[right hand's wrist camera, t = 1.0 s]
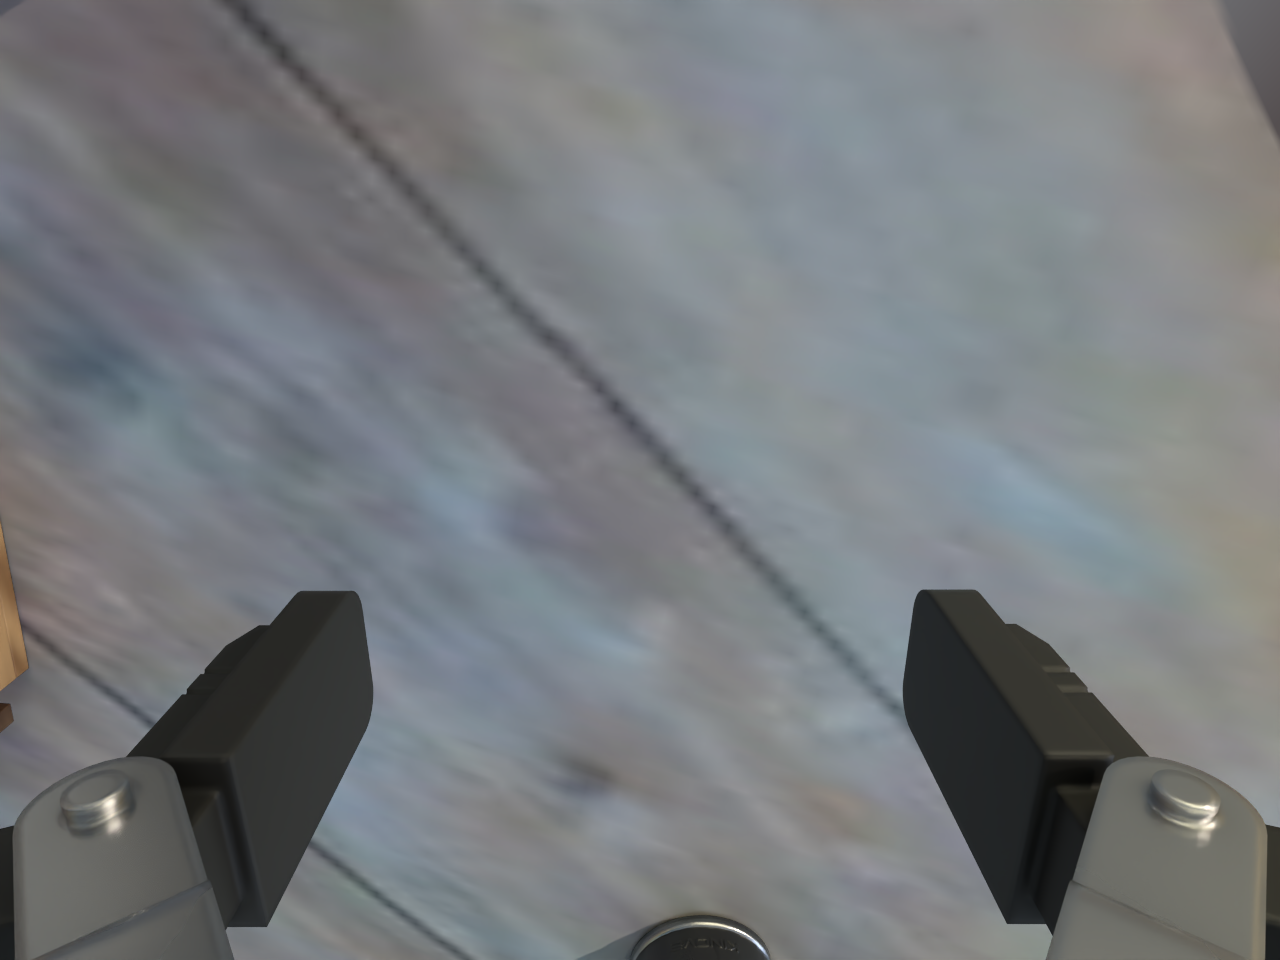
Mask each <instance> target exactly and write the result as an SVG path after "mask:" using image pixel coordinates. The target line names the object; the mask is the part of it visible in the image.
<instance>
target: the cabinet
mask: <svg viewBox="0 0 1280 960" xmlns="http://www.w3.org/2000/svg"><path fill="white" fill-rule="evenodd" d="M28 668H29V666H28V661H27V656H26V651H25V646H24V641H23V635H22V630H21V625H20V620H19V615H18V610H17V605H16V599H15V594H14V589H13V584H12V579H11V574H10V569H9V563H8V558H7V553H6V548H5V543H4V538H3V532H2V527H1V522H0V691H1V690H2V689H3V688H5V687H6V686H7V685H8V684H10V683H11V682H12V681H13V680H15V679H16V678H17V677H18V676H20V675H21V674H22V673H23V672H25V671H26V670H27V669H28Z"/></svg>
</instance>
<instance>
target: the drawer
mask: <svg viewBox="0 0 1280 960" xmlns="http://www.w3.org/2000/svg"><path fill="white" fill-rule="evenodd" d="M13 721H14V720H13V715H12V710H11V705H10V704H7V703H0V733H1V732H2V731H3V730H4V729H5V728H6V727H7V726H9V725H10V724H11V723H12V722H13Z"/></svg>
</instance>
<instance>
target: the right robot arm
mask: <svg viewBox="0 0 1280 960" xmlns="http://www.w3.org/2000/svg"><path fill="white" fill-rule="evenodd" d="M903 703H904V710H905V715H906V719H907V722H908V725H909V727H910V730H911V732H912V734H913V736H914V738H915V740H916V742H917V744H918V746H919V748H920V750H921V752H922V754H923V756H924V758H925V760H926V762H927V764H928V766H929V768H930V770H931V772H932V774H933V776H934V778H935V780H936V782H937V784H938V786H939V788H940V790H941V792H942V794H943V796H944V798H945V800H946V802H947V804H948V806H949V808H950V810H951V812H952V814H953V816H954V818H955V820H956V822H957V824H958V826H959V828H960V830H961V832H962V834H963V836H964V838H965V840H966V842H967V844H968V846H969V848H970V850H971V852H972V854H973V856H974V858H975V860H976V862H977V864H978V866H979V868H980V870H981V872H982V874H983V876H984V878H985V880H986V882H987V884H988V887H989V889H990V891H991V893H992V895H993V897H994V899H995V901H996V903H997V905H998V907H999V909H1000V911H1001V913H1002V915H1003V917H1004V919H1005V921H1006V923H1007V924H1046V925H1047V926H1048V928H1049V930H1050V932H1051V934H1052V935H1053V937H1052V941H1051V944H1050V947H1049V951H1048V954H1047V957H1046V960H1280V828H1279V827H1274V826H1270V825H1265V823H1264V821H1263V819H1262V817H1261V816H1260V814H1259V813H1258V811H1257V810H1256V809H1255V808H1254V807H1253V805H1252V804H1251V803H1250V802H1249V801H1248V800H1247V799H1245V798H1244V797H1243V796H1242V795H1241V794H1240V793H1238V792H1237V791H1236V790H1234V789H1233V788H1231V787H1230V786H1229V785H1227V784H1225V783H1224V782H1222V781H1220V780H1219V779H1217V778H1215V777H1213V776H1211V775H1209V774H1207V773H1205V772H1203V771H1201V770H1198V769H1196V768H1193V767H1191V766H1188V765H1185V764H1182V763H1179V762H1175V761H1171V760H1167V759H1162V758H1155V757H1149V756H1148V755H1147V754H1146V753H1145V752H1144V750H1143V749H1142V748H1141V747H1140V746H1139V745H1138V744H1137V743H1136V741H1135V740H1134V739H1133V738H1132V737H1131V736H1130V735H1129V734H1128V732H1127V731H1126V730H1125V729H1124V728H1123V727H1122V726H1121V725H1120V723H1119V722H1118V721H1117V720H1116V719H1115V718H1114V717H1113V716H1112V714H1111V713H1110V712H1109V711H1108V710H1107V709H1106V708H1105V707H1104V706H1103V704H1102V703H1101V702H1100V701H1099V700H1098V699H1097V698H1096V697H1095V695H1094V694H1093V693H1088V691H1087V686H1086V685H1085V684H1084V683H1083V682H1082V681H1081V680H1080V679H1079V677H1078V676H1077V675H1076V674H1075V673H1070V667H1069V666H1068V665H1067V664H1066V663H1065V662H1064V661H1063V660H1062V658H1061V657H1060V656H1059V655H1058V654H1057V653H1056V652H1055V651H1054V649H1053V648H1052V647H1051V646H1050V645H1049V644H1048V643H1046V642H1044V641H1043V640H1041V639H1040V638H1038V637H1036V636H1035V635H1033V634H1031V633H1030V632H1028V631H1027V630H1025V629H1023V628H1022V627H1020V626H1018V625H1017V624H1005V623H1004V622H1003V621H1002V619H1001V618H1000V617H999V616H998V615H997V613H996V612H995V611H994V610H993V609H992V607H991V606H990V605H989V604H988V603H987V601H986V600H985V599H984V598H983V597H982V595H981V594H980V593H979V592H978V591H976V590H921V591H920V592H919V593H918V594H917V596H916V599H915V602H914V608H913V615H912V622H911V629H910V636H909V644H908V651H907V658H906V665H905V673H904V680H903ZM372 704H373V682H372V674H371V667H370V660H369V653H368V646H367V639H366V631H365V624H364V617H363V610H362V604H361V601H360V598H359V596H358V594H357V593H356V592H354V591H300V592H298V593H297V594H296V595H295V596H294V597H293V598H292V599H291V601H290V602H289V603H288V604H287V605H286V607H285V608H284V609H283V610H282V611H281V613H280V614H279V615H278V616H277V617H276V618H275V620H274V621H273V622H272V623H271V624H270V625H259V626H257V627H256V628H254V629H253V630H251V631H249V632H248V633H246V634H244V635H243V636H241V637H239V638H238V639H236V640H235V641H233V642H231V643H230V644H228V645H226V646H225V647H224V649H223V650H222V651H221V652H220V653H219V654H218V655H217V656H216V657H215V659H214V660H213V661H212V662H211V663H210V664H209V665H208V666H207V667H206V669H205V673H204V674H200V675H199V676H198V677H197V679H196V680H195V681H194V682H193V683H192V684H191V685H190V686H189V688H188V689H187V694H186V695H181V696H180V698H179V699H178V700H177V701H176V702H175V703H174V704H173V705H172V706H171V708H170V709H169V710H168V711H167V712H166V713H165V714H164V715H163V716H162V718H161V719H160V720H159V721H158V722H157V723H156V724H155V725H154V726H153V728H152V729H151V730H150V731H149V732H148V733H147V734H146V735H145V736H144V738H143V739H142V740H141V741H140V742H139V743H138V744H137V745H136V746H135V748H134V749H133V750H132V751H131V752H130V753H129V754H128V755H127V756H126V757H125V758H118V759H113V760H109V761H105V762H101V763H98V764H95V765H92V766H89V767H87V768H84V769H82V770H79V771H77V772H75V773H73V774H71V775H69V776H67V777H65V778H63V779H61V780H60V781H58V782H56V783H55V784H53V785H51V786H50V787H49V788H47V789H46V790H44V791H43V792H42V793H40V794H39V795H38V796H37V797H36V798H35V799H33V800H32V801H31V802H30V803H29V804H28V805H27V807H26V808H25V809H24V810H23V811H22V813H21V814H20V816H19V817H18V819H17V821H16V823H15V825H14V826H10V827H6V828H2V829H0V960H234V957H233V954H232V951H231V947H230V944H229V941H228V937H227V934H226V931H225V930H226V929H227V927H267V926H268V924H269V922H270V920H271V918H272V916H273V914H274V912H275V910H276V908H277V906H278V904H279V902H280V900H281V898H282V896H283V894H284V892H285V890H286V888H287V886H288V884H289V882H290V880H291V878H292V876H293V874H294V872H295V870H296V868H297V866H298V864H299V862H300V860H301V858H302V856H303V854H304V852H305V850H306V848H307V846H308V844H309V842H310V840H311V838H312V836H313V834H314V832H315V830H316V828H317V826H318V824H319V822H320V820H321V818H322V816H323V814H324V812H325V810H326V808H327V806H328V804H329V802H330V801H331V799H332V797H333V795H334V793H335V791H336V789H337V787H338V785H339V783H340V781H341V779H342V777H343V775H344V773H345V771H346V769H347V767H348V765H349V763H350V761H351V759H352V757H353V755H354V753H355V751H356V749H357V747H358V745H359V743H360V741H361V739H362V737H363V735H364V733H365V731H366V729H367V726H368V723H369V720H370V716H371V711H372ZM630 960H771V958H770V954H769V951H768V949H767V947H766V945H765V943H764V942H763V941H762V939H761V938H760V937H759V936H758V935H757V934H756V933H754V932H753V931H752V930H751V929H749V928H748V927H746V926H744V925H742V924H740V923H738V922H736V921H733V920H730V919H726V918H722V917H717V916H705V915H699V916H687V917H682V918H678V919H674V920H671V921H668V922H666V923H663V924H661V925H659V926H657V927H655V928H654V929H652V930H651V931H649V932H648V933H647V934H646V935H645V936H644V937H643V938H642V939H641V940H640V941H639V942H638V943H637V945H636V946H635V948H634V950H633V952H632V954H631V957H630Z"/></svg>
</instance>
